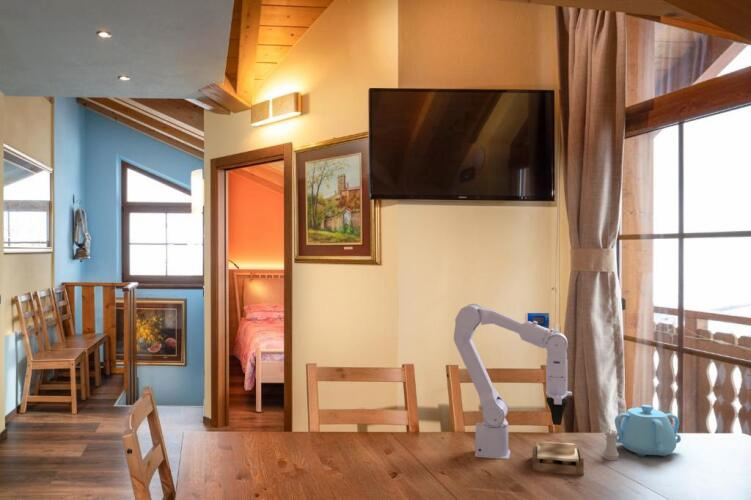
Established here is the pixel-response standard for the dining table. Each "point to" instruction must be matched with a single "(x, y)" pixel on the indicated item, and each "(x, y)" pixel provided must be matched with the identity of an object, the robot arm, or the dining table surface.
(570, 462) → the ball
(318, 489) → the dining table surface
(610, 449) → the rook chess piece
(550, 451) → the lid
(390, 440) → the dining table surface
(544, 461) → the ball
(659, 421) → the decorative pot
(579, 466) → the box
